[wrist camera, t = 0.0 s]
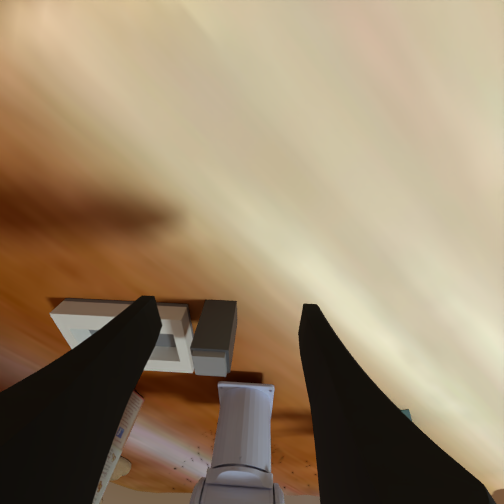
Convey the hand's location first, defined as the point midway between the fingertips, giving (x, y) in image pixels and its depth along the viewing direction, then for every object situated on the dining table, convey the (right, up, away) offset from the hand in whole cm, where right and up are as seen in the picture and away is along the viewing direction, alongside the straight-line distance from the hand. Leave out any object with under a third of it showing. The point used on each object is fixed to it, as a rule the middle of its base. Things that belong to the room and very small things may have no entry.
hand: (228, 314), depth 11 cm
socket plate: (-14, -7, +19) cm, 24 cm away
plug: (-2, -4, +16) cm, 17 cm away
